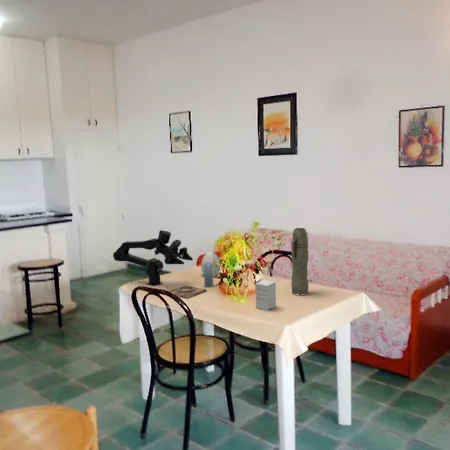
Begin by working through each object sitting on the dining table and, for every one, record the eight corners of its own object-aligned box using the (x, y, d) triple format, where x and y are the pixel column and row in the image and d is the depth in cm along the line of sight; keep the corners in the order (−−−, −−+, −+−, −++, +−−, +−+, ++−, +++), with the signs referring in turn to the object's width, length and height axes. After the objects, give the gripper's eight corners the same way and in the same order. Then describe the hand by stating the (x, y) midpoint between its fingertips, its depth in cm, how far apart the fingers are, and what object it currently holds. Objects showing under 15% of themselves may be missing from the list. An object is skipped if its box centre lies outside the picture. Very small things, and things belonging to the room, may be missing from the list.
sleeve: (202, 286, 280) (202, 264, 278) (208, 284, 284) (207, 262, 282) (209, 287, 277) (208, 265, 275) (215, 285, 281) (214, 263, 279)
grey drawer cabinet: (264, 304, 245) (263, 279, 244) (276, 306, 241) (276, 281, 239) (255, 308, 240) (254, 283, 238) (267, 310, 235) (267, 285, 233)
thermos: (286, 294, 261) (286, 229, 256) (298, 289, 270) (298, 226, 264) (300, 297, 255) (300, 231, 250) (312, 292, 264) (312, 227, 259)
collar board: (165, 293, 267) (165, 289, 267) (185, 287, 280) (185, 282, 279) (187, 298, 257) (187, 294, 257) (206, 291, 270) (206, 287, 269)
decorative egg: (221, 277, 298) (220, 253, 296) (201, 278, 298) (200, 254, 295) (221, 272, 310) (220, 249, 308) (201, 273, 310) (200, 250, 307)
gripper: (159, 240, 270) (182, 252, 264) (178, 234, 287) (200, 245, 281) (155, 259, 274) (178, 270, 268) (173, 251, 290) (195, 262, 284)
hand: (188, 261), depth 275 cm, fingers open, 9 cm apart
